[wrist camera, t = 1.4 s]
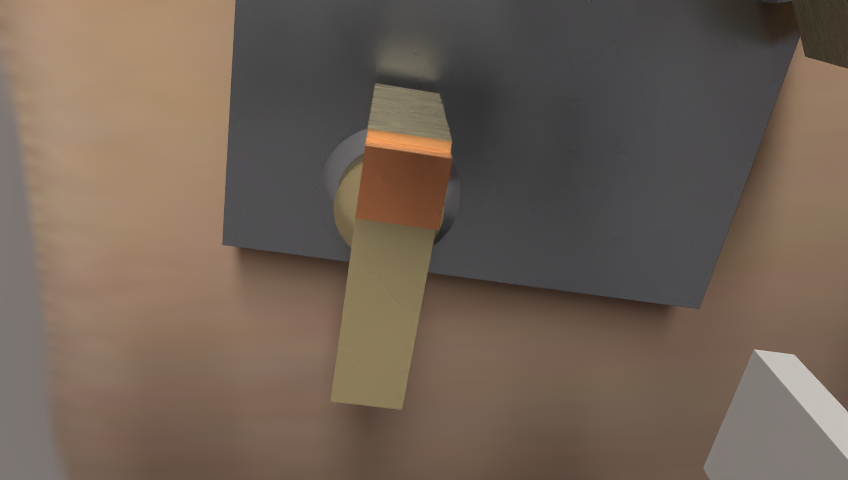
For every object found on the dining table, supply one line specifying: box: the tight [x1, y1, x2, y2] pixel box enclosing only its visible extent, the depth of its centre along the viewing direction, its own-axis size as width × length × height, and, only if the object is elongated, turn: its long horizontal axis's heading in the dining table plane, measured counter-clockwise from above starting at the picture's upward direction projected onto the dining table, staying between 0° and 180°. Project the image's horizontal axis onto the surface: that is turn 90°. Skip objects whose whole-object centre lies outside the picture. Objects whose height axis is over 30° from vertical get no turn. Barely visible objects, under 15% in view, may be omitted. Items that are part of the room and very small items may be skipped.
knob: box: [330, 83, 453, 410], centre depth 18 cm, size 7×3×6 cm, turn 171°
